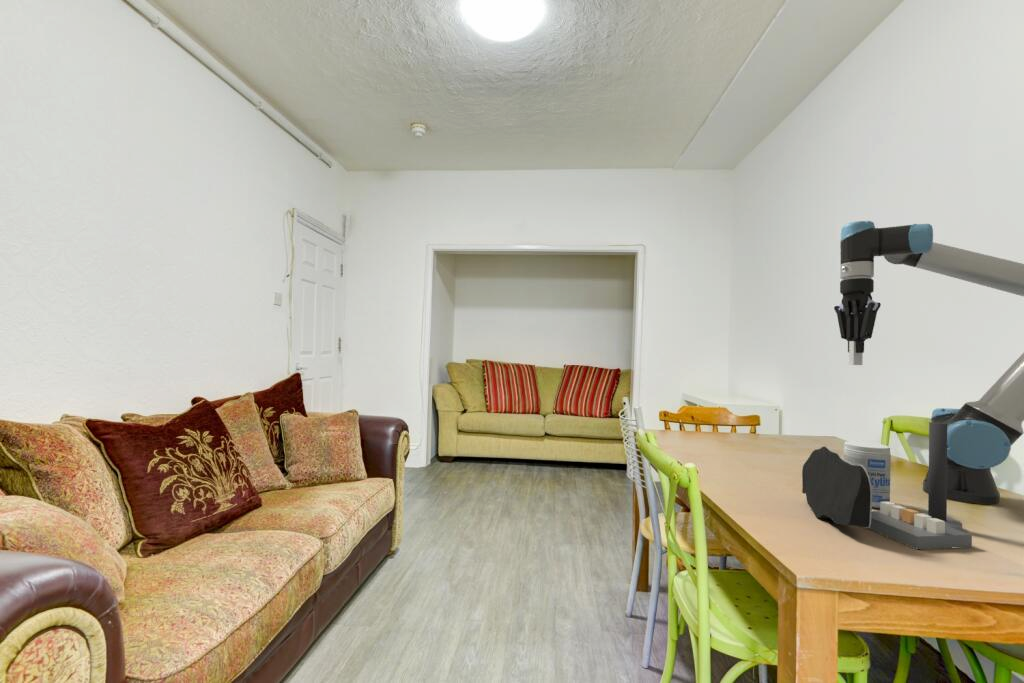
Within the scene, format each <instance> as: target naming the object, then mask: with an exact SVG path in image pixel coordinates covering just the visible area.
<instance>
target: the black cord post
mask: <svg viewBox="0 0 1024 683" xmlns="http://www.w3.org/2000/svg"><path fill="white" fill-rule="evenodd" d="M928 470H929V493H928V495H927V496H928V506H927V507H928V508H927V509H928V510H927V511H928V512H927V513H926V512H924V513H923V512H919V514H925V515H928V516H931V517H932V518H937V519H940V520H942V521H945V525H946V526H949V527H952V528H954V529H957V530H960V531H963V523H962V522H961V521H960V520H957V519H956V518H955V519H954V518H952V517H948V515H947V514H948V513H947V512H948V511H947V509H948V508H947V507H948V505H947V504H948V503H947V501H948V499H947V424H946V423H938V422H932V421H930V422H928Z"/></svg>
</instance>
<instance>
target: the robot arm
mask: <svg viewBox="0 0 1024 683" xmlns="http://www.w3.org/2000/svg"><path fill="white" fill-rule="evenodd" d="M840 231H841V232H840V247H839V248H840V269H839V270H840V279H841V281H840V282H839V293H840V295H842V299H841V303H840V304H839V305H835V306H834V307H833V309H834V312H835V313H836V317H837V322H838V328H839V332H840V333H839V334H840V338H841V339H842V340H846V341H847V353H848V365H849V366H863V354H864V353H865V341H866V340H868V339H871V338H872V336H873V332H874V328H875V323H876V319H877V314H878V311H879V310H880V307H881V306H882V304H881V303H880V302H876V301H874V300H873V296H872V294H873V293H874V290H875V288H874V286H875V283H874V279H873V277H875V273H874V272H875V268H874V267H875V259H874V258H875V257H883V258H884V259H885V260H886V262H888V263H890V264H891V265H905V266H909V267H913V268H917V269H921V270H925V271H929V272H932V273H935V274H940V275H943V276H947V277H951V278H953V279H958V280H961V281H966V282H967V283H972V284H976V285H979V286H983V287H987V288H991V289H994V290H998V291H1002V292H1006V293H1009V294H1014V295H1016V296H1021V297H1024V263H1021V262H1017V261H1013V260H1008V259H1004V258H1000V257H997V256H994V255H993V256H992V255H989V254H984V253H980V252H975V251H971V250H967V249H963V248H959V247H955V246H950V245H946V244H943V243H937V242H934V241H933V240H934V228H933V226H932V225H931V224H930V223H918V224H917V223H913V224H909V225H908V224H907V225H897V226H889V227H880V228H879V227H876V226H875V223H874V222H873V221H871V220H864V221H863V220H859V221H858V220H857V221H853V222H849V223H846V224H844V225H843V226H842V228H841V230H840ZM931 413H932V414H931V417H930V422H938V423H946V424H947V500H948V499H949V500H952V501H957V502H964V503H971V504H980V505H995V504H1000V503H1001V493H1000V491H999V490H998V487H997V485H996V482H995V478H994V476H993V474H992V471H991V470H992V469H991V468H995V467H997V466H999V465H1001V464H1002V463H1003V462H1005V461H1006V460H1007V459H1008V457H1009V455H1010V453H1011V449H1012V446H1013V445H1014V444H1015V442H1017V440H1018V439H1019V438H1020V437H1021V436H1022V435H1023V434H1024V429H1023V426H1022V424H1023V422H1024V352H1022V354H1021V355H1020V356H1019V357H1018V358H1017V359H1016V360H1015V361H1014V362H1013V363H1012V364H1011V366H1010V367H1009V368H1008V369H1007V370H1006V371H1005V372H1004V373H1003V374H1002V375H1001V376H1000V377H999V378H998V379H997V380H996V381H995V382H994V384H992V385H991V387H990V388H988V390H987V391H986V392H985V393H984V394H983V395H982V396H981V397H980V399H978V400H977V401H976V400H975V401H969V402H965V403H964V404H963V405H962V406H961V408H941V407H940V408H939V407H938V408H935V409H933V411H932V412H931ZM922 490H923V491H924V492H926V493H928V494H929V469H928V470H927V472H926V475H925V478H924V479H923V481H922Z"/></svg>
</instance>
